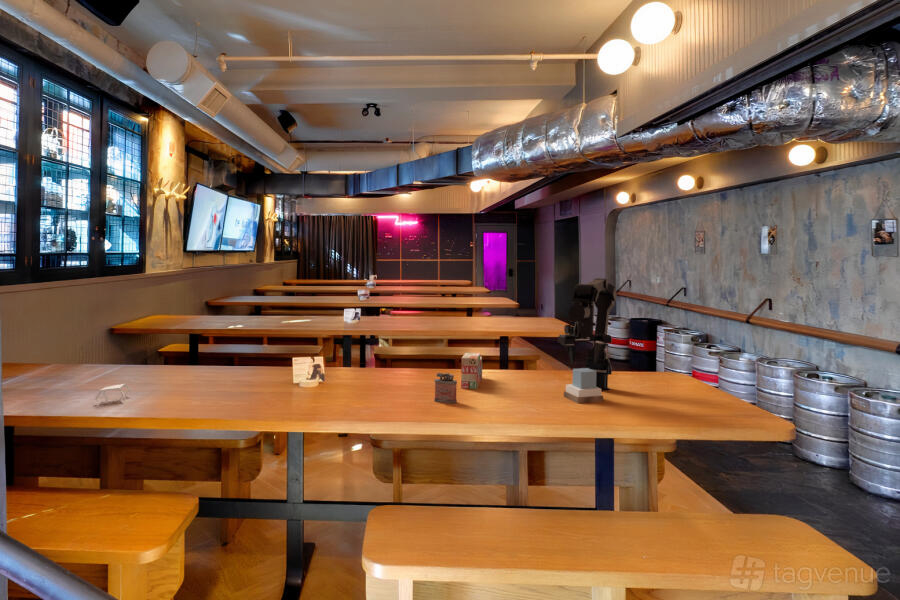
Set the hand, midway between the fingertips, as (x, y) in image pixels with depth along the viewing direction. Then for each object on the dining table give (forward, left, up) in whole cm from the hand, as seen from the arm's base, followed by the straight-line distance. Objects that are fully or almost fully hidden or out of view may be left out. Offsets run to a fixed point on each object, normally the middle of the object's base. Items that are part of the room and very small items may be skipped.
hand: (584, 362), depth 191 cm
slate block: (0, 0, -9) cm, 9 cm away
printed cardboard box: (+30, -34, -13) cm, 48 cm away
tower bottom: (0, 0, -14) cm, 14 cm away
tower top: (0, 0, -11) cm, 11 cm away
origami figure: (+158, -37, -13) cm, 162 cm away
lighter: (+49, -8, -13) cm, 51 cm away
